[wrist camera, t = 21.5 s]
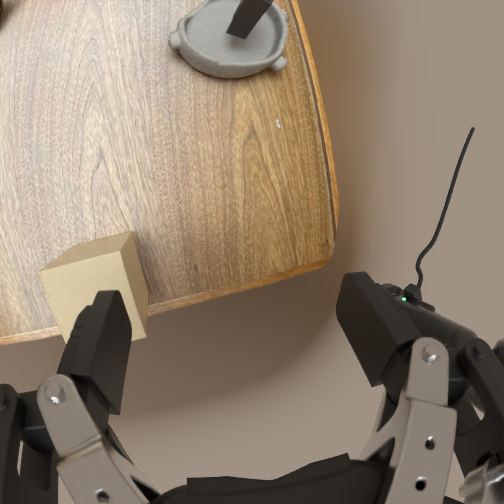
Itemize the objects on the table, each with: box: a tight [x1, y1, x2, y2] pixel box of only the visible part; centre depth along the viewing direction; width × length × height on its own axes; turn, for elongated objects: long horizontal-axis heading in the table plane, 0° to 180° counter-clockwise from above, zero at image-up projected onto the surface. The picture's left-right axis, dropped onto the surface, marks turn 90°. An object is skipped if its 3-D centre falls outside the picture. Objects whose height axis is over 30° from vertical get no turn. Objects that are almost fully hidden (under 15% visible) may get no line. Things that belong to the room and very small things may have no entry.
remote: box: [226, 0, 273, 40], centre depth 20 cm, size 2×5×8 cm, turn 163°
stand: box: [39, 231, 149, 344], centre depth 25 cm, size 8×8×11 cm
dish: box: [168, 0, 288, 78], centre depth 26 cm, size 14×14×5 cm
